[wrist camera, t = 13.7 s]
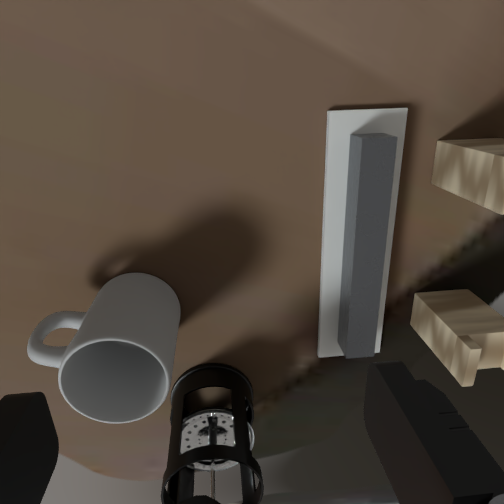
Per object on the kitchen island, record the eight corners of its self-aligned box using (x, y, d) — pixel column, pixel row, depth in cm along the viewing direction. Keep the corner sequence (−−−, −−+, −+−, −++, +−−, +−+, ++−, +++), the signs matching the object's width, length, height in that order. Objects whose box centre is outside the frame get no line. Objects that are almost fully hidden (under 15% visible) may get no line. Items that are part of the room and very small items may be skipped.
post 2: (414, 293, 43) (470, 349, 34) (467, 288, 43) (537, 343, 34) (410, 324, 44) (462, 386, 35) (461, 320, 45) (525, 380, 36)
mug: (186, 278, 40) (178, 344, 29) (174, 348, 43) (163, 429, 33) (60, 259, 38) (4, 323, 27) (57, 334, 41) (6, 416, 30)
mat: (327, 110, 35) (329, 111, 34) (404, 107, 35) (407, 107, 35) (317, 354, 45) (318, 357, 44) (377, 349, 45) (379, 352, 45)
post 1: (437, 140, 37) (513, 159, 27) (498, 137, 37) (593, 155, 28) (431, 183, 38) (501, 214, 29) (490, 180, 39) (577, 209, 29)
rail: (350, 134, 35) (362, 138, 32) (383, 132, 35) (397, 136, 32) (337, 341, 44) (345, 358, 41) (363, 339, 44) (374, 356, 41)
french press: (207, 344, 43) (205, 596, 22) (273, 384, 46) (326, 639, 25) (146, 413, 46) (91, 695, 25) (211, 446, 49) (211, 723, 28)
